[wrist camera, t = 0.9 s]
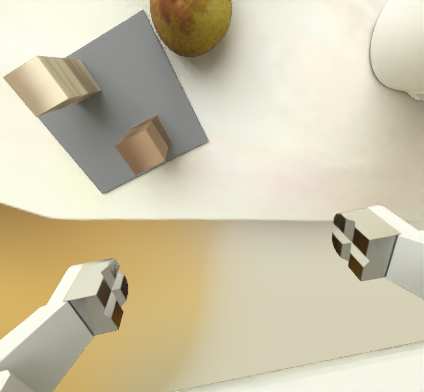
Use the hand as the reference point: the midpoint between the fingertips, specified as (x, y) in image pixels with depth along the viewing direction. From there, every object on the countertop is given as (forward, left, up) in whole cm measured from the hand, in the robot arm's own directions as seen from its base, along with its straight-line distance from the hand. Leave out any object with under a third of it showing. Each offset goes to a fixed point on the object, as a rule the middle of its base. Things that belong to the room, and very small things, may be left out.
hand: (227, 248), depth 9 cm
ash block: (+12, -11, -30) cm, 34 cm away
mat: (+10, -5, -30) cm, 32 cm away
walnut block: (+7, -1, -30) cm, 30 cm away
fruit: (-5, -11, -30) cm, 32 cm away
